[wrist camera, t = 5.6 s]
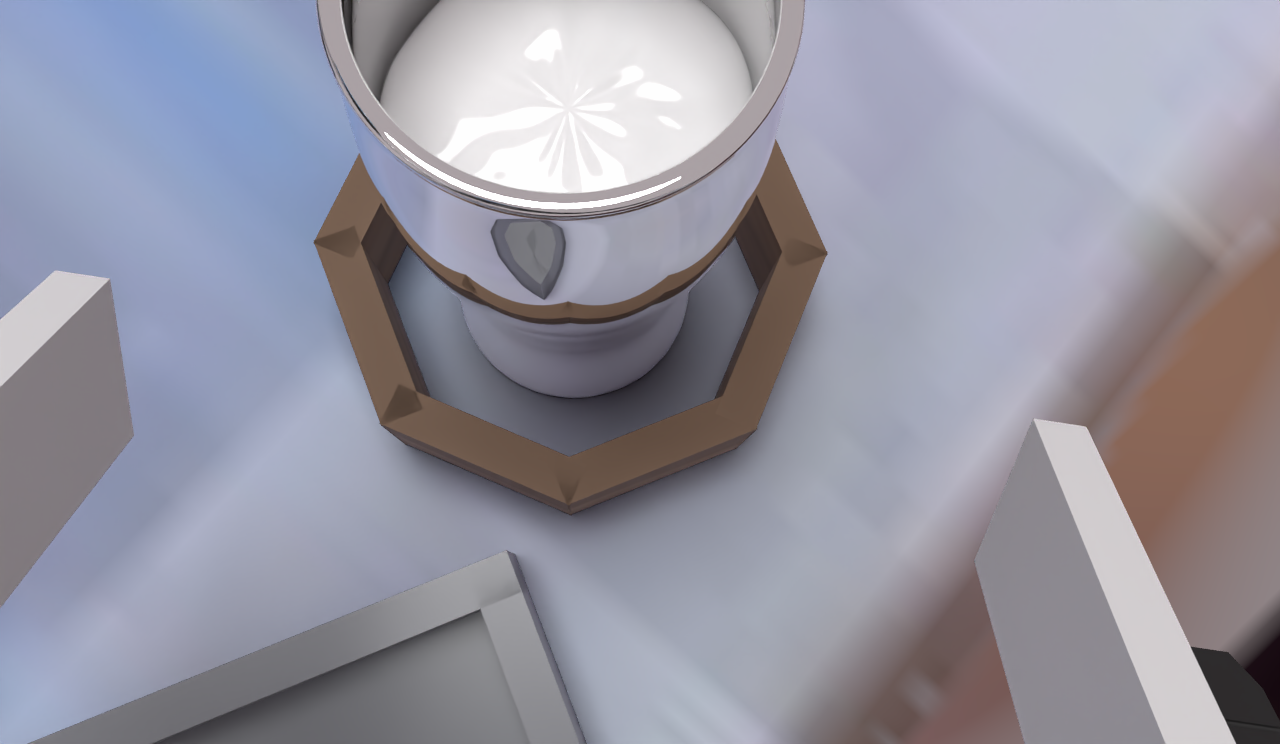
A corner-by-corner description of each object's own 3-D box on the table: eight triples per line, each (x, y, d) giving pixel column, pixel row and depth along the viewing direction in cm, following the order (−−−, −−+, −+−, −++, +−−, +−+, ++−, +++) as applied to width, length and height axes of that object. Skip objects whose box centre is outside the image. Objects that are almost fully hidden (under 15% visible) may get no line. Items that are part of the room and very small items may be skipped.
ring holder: (449, 564, 28) (429, 561, 24) (305, 174, 29) (268, 118, 26) (849, 403, 29) (884, 378, 25) (687, 39, 31) (700, -30, 27)
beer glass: (757, 305, 29) (928, 20, 15) (556, 469, 28) (522, 341, 13) (592, 117, 30) (597, -333, 15) (391, 269, 29) (189, -59, 14)
